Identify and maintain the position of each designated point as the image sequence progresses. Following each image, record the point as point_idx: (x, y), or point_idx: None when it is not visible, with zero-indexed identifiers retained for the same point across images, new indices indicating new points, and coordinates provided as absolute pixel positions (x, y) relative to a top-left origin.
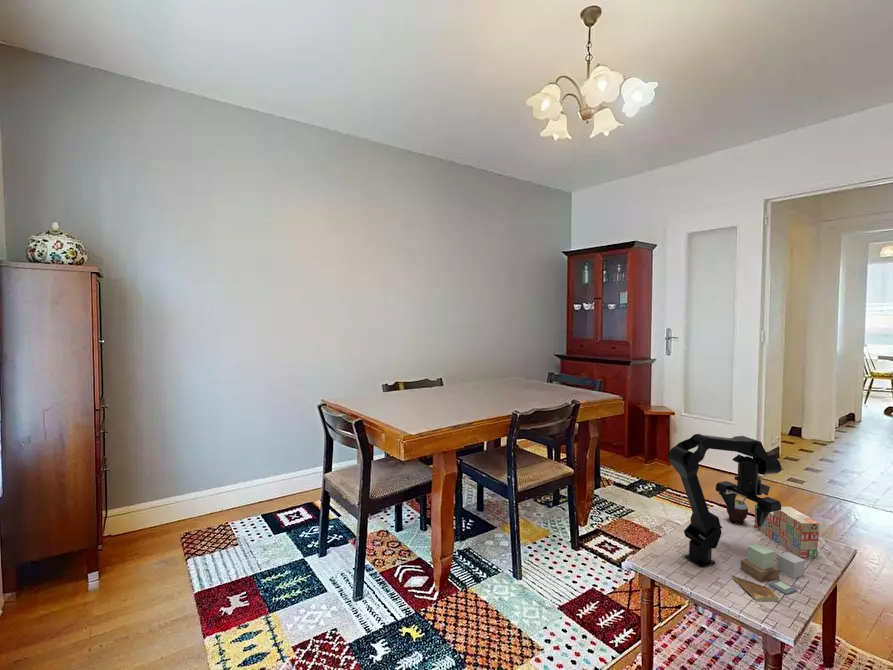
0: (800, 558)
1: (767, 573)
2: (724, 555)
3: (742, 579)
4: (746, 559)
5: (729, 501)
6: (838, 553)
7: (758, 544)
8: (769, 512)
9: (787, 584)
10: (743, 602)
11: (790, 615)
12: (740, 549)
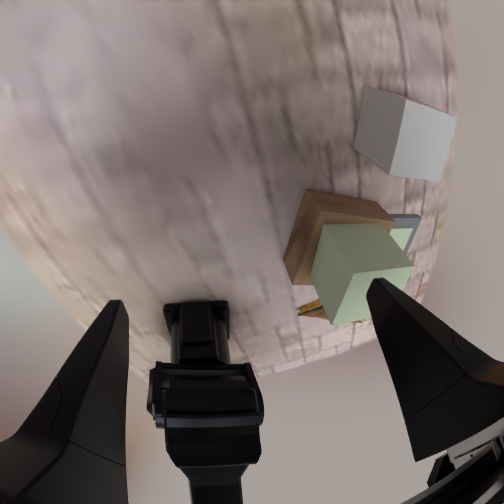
0: (447, 120)
1: None
2: (196, 239)
3: (322, 306)
4: (302, 267)
5: (115, 454)
6: None
7: (357, 283)
8: (497, 367)
9: (402, 218)
10: (347, 335)
11: (411, 295)
12: (179, 131)
